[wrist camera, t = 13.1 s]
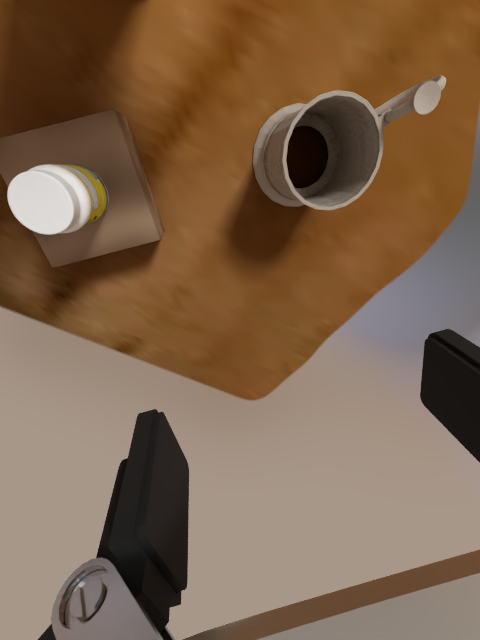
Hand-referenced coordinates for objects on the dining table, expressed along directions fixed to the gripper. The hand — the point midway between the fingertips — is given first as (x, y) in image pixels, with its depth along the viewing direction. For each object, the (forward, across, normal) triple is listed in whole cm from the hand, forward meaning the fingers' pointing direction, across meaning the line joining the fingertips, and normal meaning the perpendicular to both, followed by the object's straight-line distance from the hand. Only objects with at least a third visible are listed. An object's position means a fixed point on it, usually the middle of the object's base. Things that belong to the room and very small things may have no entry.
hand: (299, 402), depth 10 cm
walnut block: (+28, +12, -8) cm, 32 cm away
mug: (+29, -12, -7) cm, 32 cm away
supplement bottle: (+24, +12, -8) cm, 28 cm away
